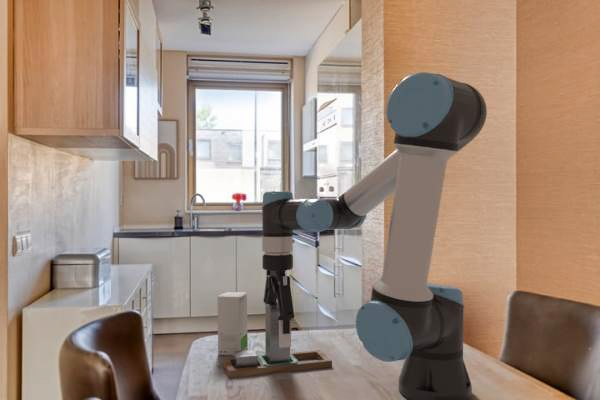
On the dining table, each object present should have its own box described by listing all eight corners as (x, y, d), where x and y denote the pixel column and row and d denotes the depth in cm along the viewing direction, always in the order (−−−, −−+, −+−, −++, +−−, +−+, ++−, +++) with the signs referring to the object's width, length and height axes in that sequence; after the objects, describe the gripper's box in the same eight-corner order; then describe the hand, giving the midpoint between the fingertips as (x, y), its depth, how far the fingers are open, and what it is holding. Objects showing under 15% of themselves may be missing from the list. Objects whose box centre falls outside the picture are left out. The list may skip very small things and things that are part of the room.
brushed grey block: (290, 368, 122) (290, 307, 122) (270, 370, 120) (270, 308, 120) (284, 361, 127) (284, 302, 127) (265, 363, 125) (265, 304, 125)
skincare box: (240, 356, 131) (240, 297, 131) (215, 355, 132) (215, 296, 132) (248, 347, 139) (248, 291, 139) (225, 346, 140) (225, 290, 140)
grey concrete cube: (257, 372, 120) (257, 355, 119) (236, 374, 118) (236, 357, 118) (253, 365, 124) (254, 349, 124) (233, 367, 123) (233, 351, 123)
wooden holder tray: (332, 366, 123) (332, 359, 123) (229, 377, 115) (229, 369, 115) (319, 355, 132) (319, 348, 132) (223, 364, 124) (223, 357, 124)
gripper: (307, 258, 113) (307, 352, 113) (279, 248, 137) (279, 325, 137) (275, 259, 111) (275, 355, 110) (252, 249, 134) (252, 328, 134)
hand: (277, 339), depth 124 cm, fingers open, 13 cm apart
